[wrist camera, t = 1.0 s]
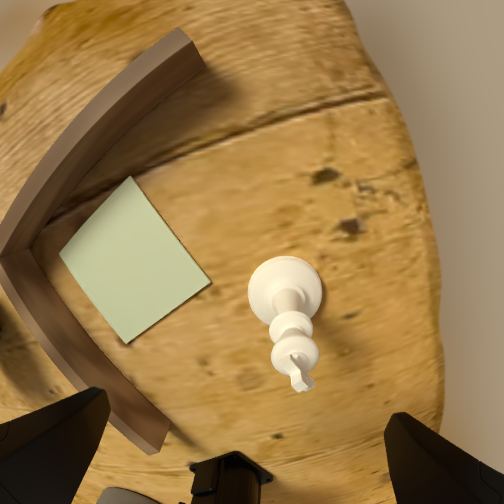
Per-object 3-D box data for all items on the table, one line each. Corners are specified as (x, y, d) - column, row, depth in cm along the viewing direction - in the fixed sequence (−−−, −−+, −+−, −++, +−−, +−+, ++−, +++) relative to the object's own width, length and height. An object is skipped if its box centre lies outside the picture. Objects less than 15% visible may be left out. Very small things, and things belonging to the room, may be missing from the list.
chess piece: (277, 337, 20) (282, 445, 10) (232, 285, 19) (201, 374, 9) (335, 297, 19) (386, 388, 9) (293, 240, 18) (321, 297, 9)
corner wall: (380, 301, 19) (402, 325, 15) (161, 426, 23) (148, 455, 19) (194, 53, 16) (178, 26, 12) (15, 245, 20) (-15, 254, 16)
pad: (210, 281, 19) (210, 282, 19) (126, 342, 21) (125, 344, 21) (131, 175, 18) (129, 175, 18) (60, 253, 19) (58, 253, 19)
